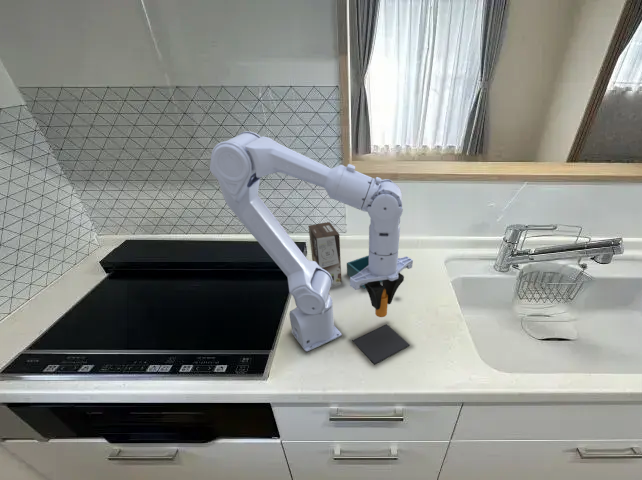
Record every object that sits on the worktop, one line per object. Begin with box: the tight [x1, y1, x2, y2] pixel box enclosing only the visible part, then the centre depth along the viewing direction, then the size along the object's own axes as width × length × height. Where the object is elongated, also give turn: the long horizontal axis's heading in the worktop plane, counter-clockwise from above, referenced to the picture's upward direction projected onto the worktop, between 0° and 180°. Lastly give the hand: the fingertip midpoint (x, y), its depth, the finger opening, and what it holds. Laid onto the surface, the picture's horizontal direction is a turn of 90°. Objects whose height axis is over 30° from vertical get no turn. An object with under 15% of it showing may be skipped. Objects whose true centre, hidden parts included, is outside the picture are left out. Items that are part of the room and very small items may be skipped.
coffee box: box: [307, 221, 343, 288], centre depth 90 cm, size 9×6×16 cm
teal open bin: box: [346, 254, 382, 290], centre depth 95 cm, size 12×9×5 cm
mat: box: [351, 323, 411, 366], centre depth 74 cm, size 10×9×1 cm
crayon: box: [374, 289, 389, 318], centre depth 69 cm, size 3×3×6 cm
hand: (381, 304), depth 70 cm, fingers closed on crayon, 2 cm apart
